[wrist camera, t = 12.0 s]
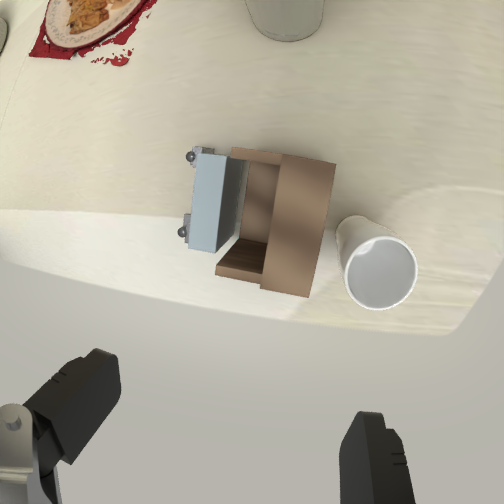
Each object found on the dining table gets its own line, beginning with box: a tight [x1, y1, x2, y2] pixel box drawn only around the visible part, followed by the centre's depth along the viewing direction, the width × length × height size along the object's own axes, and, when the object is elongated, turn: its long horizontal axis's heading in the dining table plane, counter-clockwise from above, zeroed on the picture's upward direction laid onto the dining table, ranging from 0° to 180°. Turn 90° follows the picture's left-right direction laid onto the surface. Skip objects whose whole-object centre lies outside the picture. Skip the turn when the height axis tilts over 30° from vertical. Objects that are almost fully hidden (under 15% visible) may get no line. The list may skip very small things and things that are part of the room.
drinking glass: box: [335, 215, 418, 311], centre depth 31 cm, size 7×7×15 cm
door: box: [188, 153, 243, 253], centre depth 36 cm, size 10×4×9 cm, turn 172°
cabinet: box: [215, 147, 336, 298], centre depth 33 cm, size 12×9×13 cm
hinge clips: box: [178, 147, 214, 244], centre depth 38 cm, size 11×3×5 cm, turn 171°
